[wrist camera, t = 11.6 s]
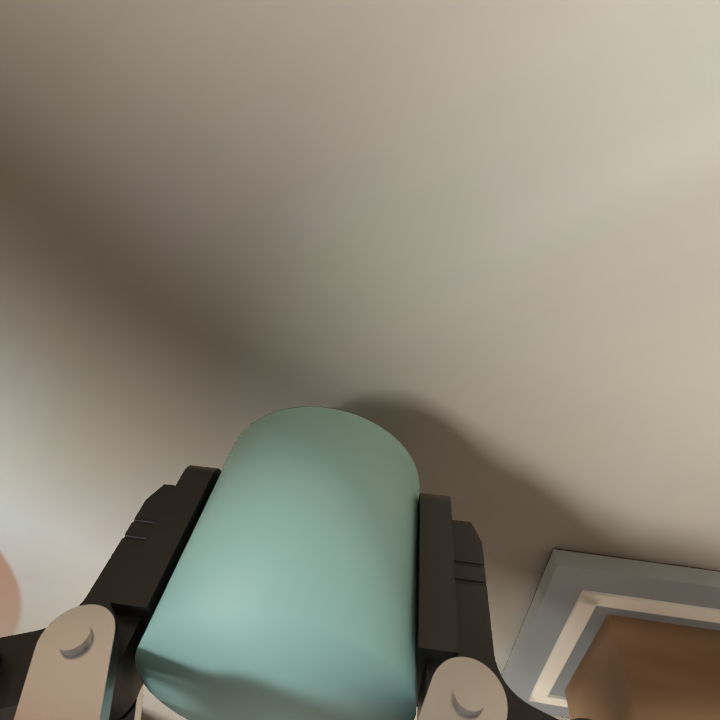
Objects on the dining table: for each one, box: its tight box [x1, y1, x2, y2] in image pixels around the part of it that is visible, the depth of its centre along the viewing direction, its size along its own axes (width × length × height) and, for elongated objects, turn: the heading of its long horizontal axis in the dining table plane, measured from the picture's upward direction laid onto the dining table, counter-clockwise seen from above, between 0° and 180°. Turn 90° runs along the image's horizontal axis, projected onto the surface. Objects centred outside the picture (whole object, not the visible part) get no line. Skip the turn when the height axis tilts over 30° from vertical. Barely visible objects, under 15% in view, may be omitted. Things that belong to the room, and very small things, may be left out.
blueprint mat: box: [502, 549, 720, 718], centre depth 18 cm, size 10×10×1 cm
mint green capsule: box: [135, 407, 420, 720], centre depth 11 cm, size 5×5×5 cm
